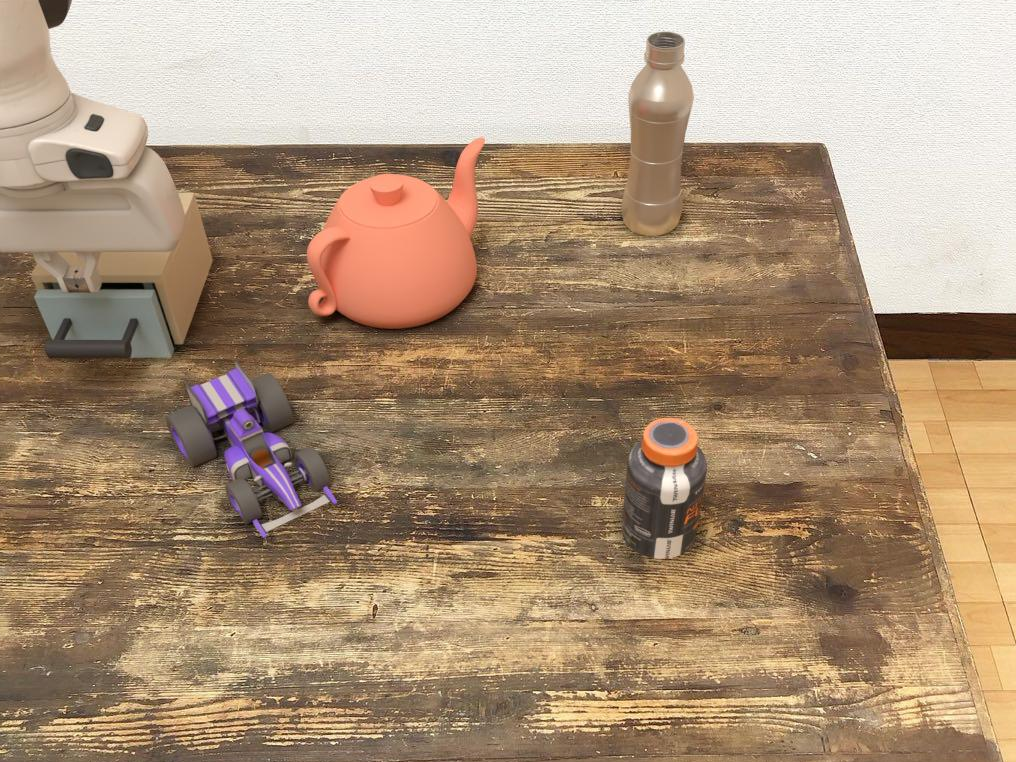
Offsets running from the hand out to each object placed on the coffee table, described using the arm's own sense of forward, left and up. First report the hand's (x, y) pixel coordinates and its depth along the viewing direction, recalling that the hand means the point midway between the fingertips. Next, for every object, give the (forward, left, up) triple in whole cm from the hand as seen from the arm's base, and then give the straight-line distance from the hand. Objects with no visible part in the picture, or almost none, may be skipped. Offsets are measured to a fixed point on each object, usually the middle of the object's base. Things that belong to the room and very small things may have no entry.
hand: (83, 289), depth 92 cm
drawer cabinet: (0, +10, -10) cm, 14 cm away
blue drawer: (0, +5, -9) cm, 10 cm away
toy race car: (+16, -13, -10) cm, 23 cm away
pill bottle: (+49, -20, -10) cm, 54 cm away
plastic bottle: (+51, +24, -10) cm, 57 cm away
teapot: (+26, +13, -10) cm, 31 cm away
